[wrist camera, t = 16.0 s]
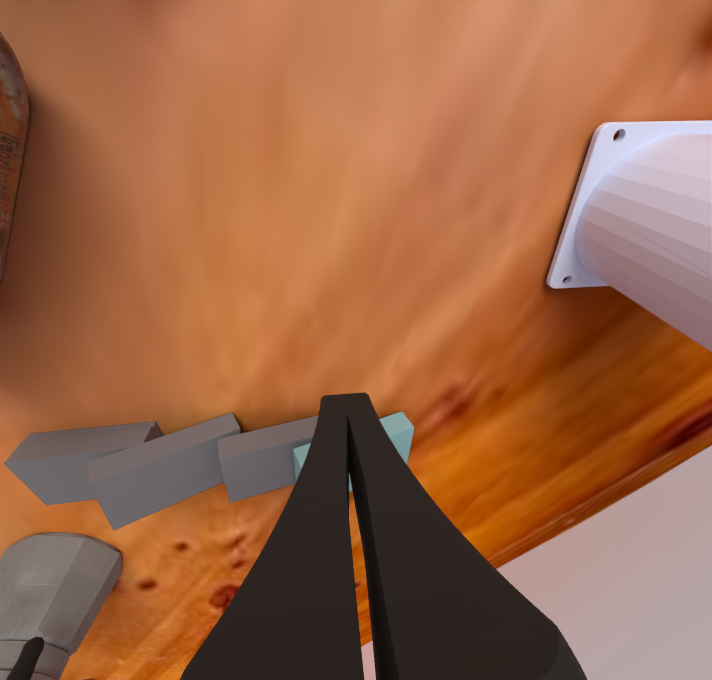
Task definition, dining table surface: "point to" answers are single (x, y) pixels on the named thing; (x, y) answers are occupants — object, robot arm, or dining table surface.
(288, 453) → the domino
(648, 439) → the dining table surface
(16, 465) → the domino
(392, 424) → the teal domino
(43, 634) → the coffeepot
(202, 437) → the domino
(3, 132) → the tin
